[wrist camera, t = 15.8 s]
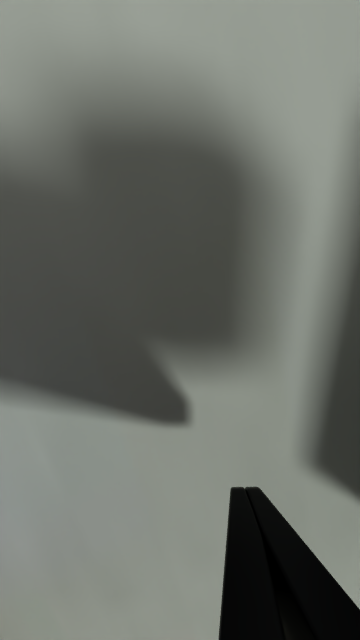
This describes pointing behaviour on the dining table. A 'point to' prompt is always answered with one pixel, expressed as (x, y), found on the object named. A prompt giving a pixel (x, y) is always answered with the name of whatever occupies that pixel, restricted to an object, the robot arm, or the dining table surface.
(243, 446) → the dining table surface
